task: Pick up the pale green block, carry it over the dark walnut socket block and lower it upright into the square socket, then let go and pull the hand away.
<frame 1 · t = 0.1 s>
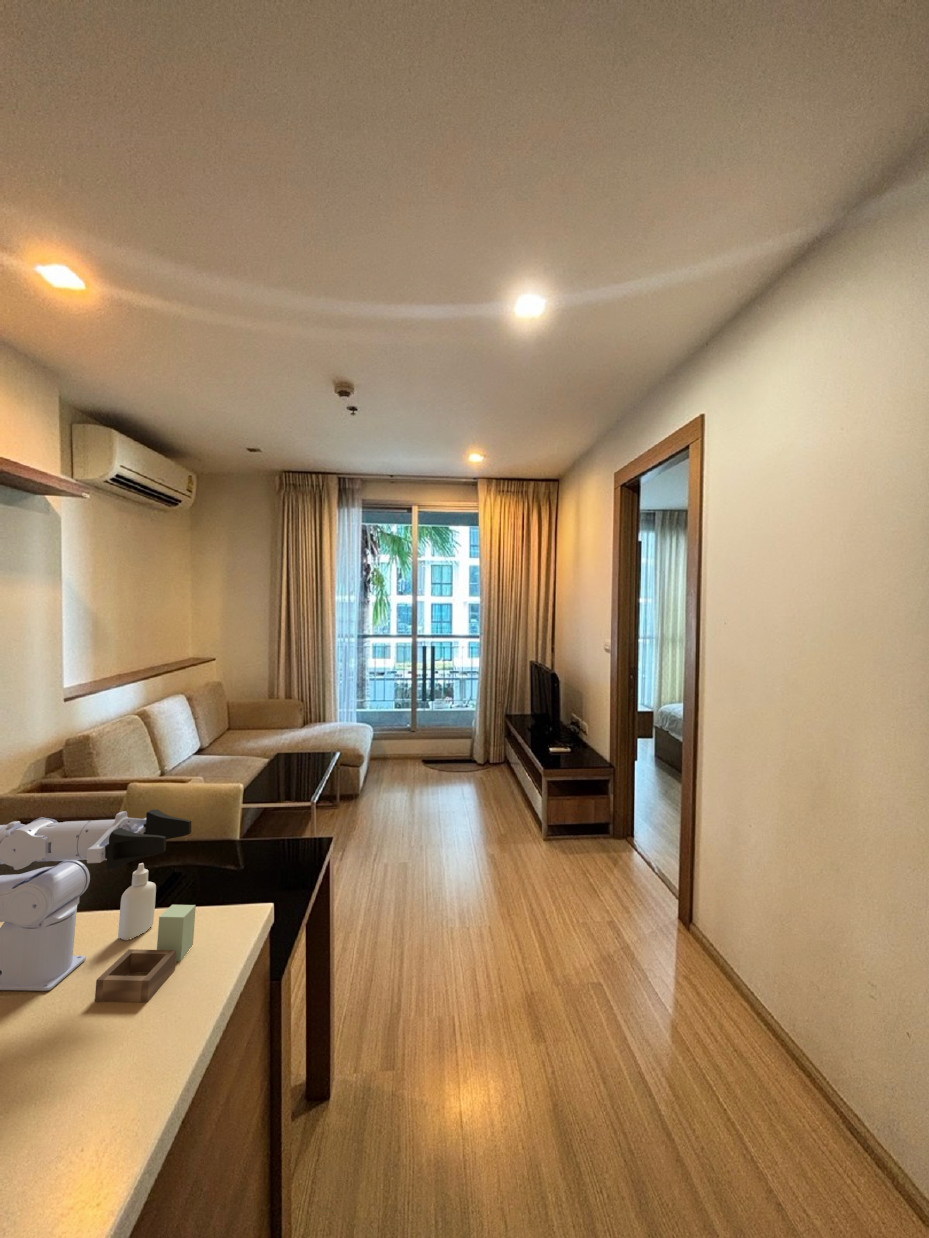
hand: (178, 835, 81), 22 cm above the table, tool horizontal, fingers open, 7 cm apart
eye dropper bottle: (135, 933, 91), on the table
socket block: (136, 984, 77), on the table
pale green block: (174, 953, 85), on the table
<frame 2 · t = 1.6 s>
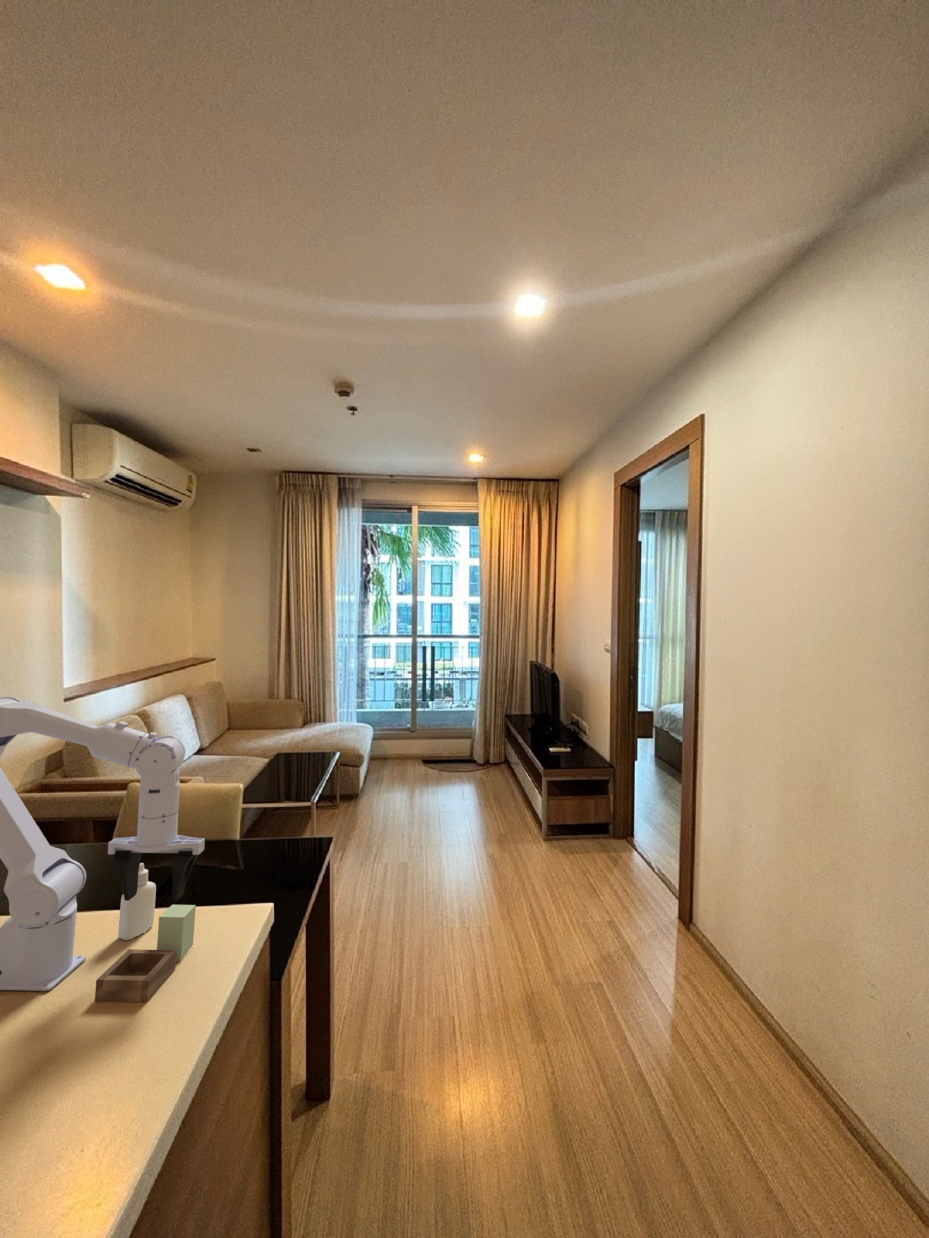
hand: (154, 897, 83), 10 cm above the table, tool pointing down, fingers open, 7 cm apart
nothing on the table moved.
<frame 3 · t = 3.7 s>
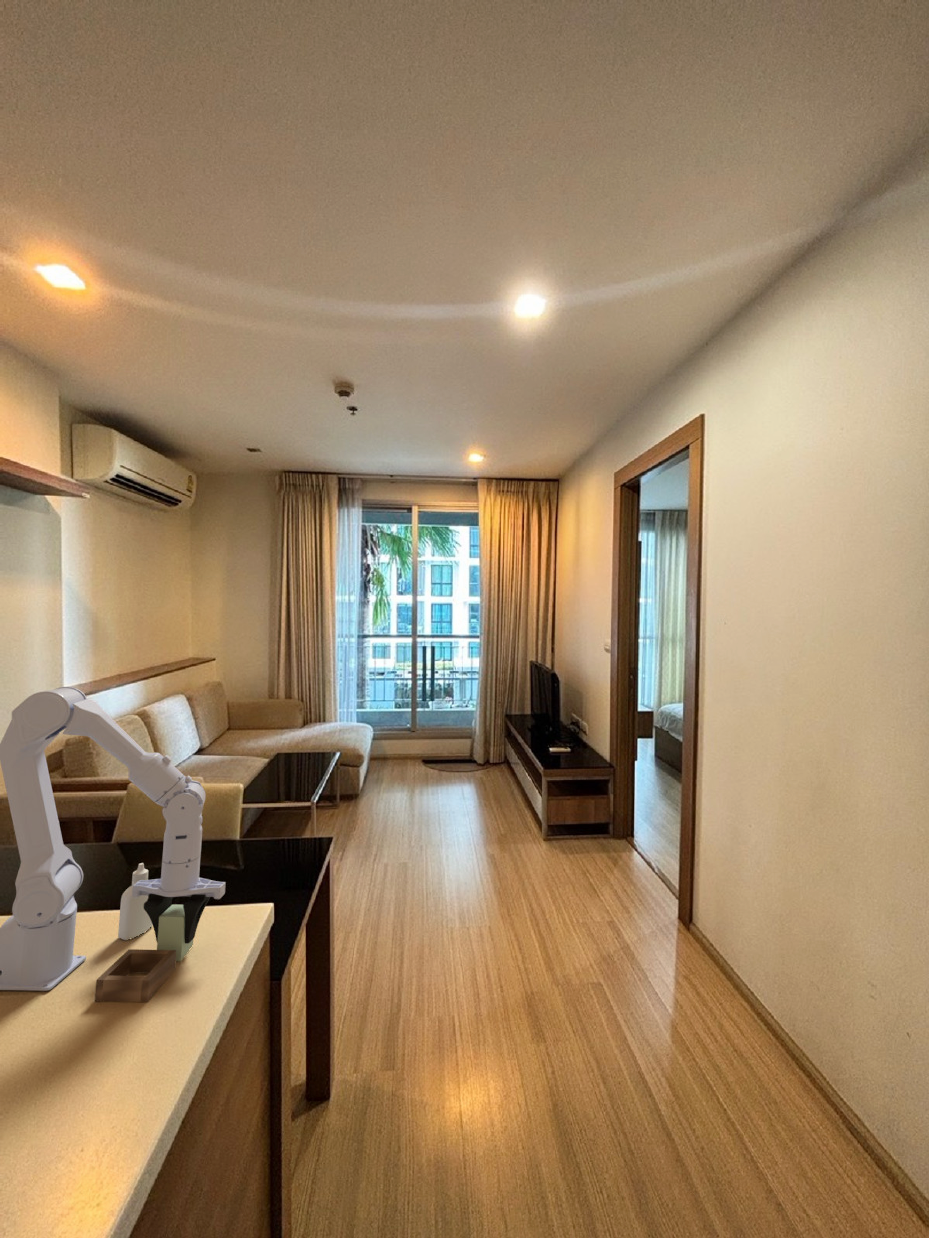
hand: (175, 939, 85), 2 cm above the table, tool pointing down, fingers closed on pale green block, 4 cm apart
pale green block: (174, 953, 85), on the table, touching gripper
everything else where it was.
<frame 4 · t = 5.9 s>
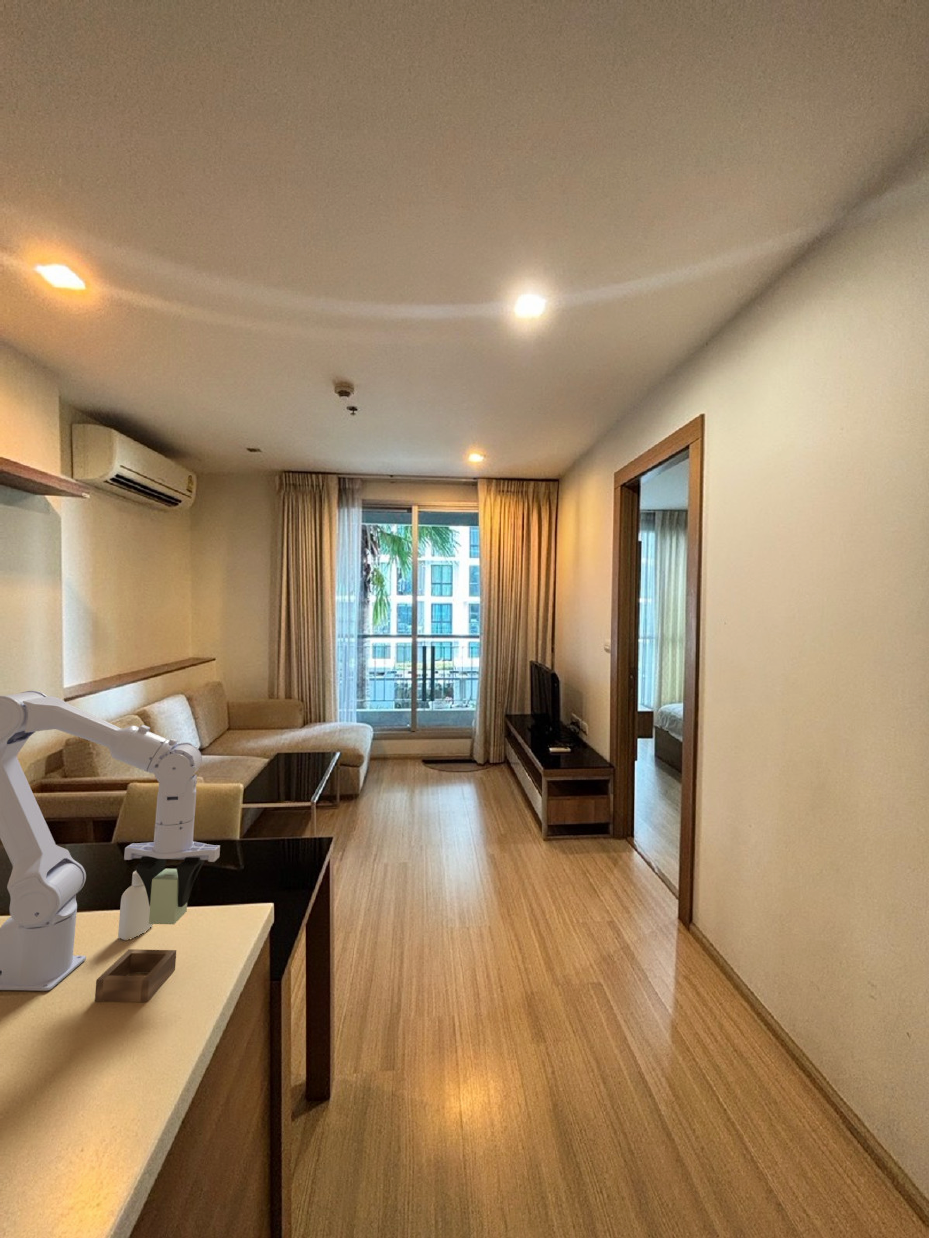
hand: (169, 903, 84), 9 cm above the table, tool pointing down, fingers closed on pale green block, 4 cm apart
pale green block: (168, 917, 84), point 7 cm above the table, touching gripper
everything else where it was.
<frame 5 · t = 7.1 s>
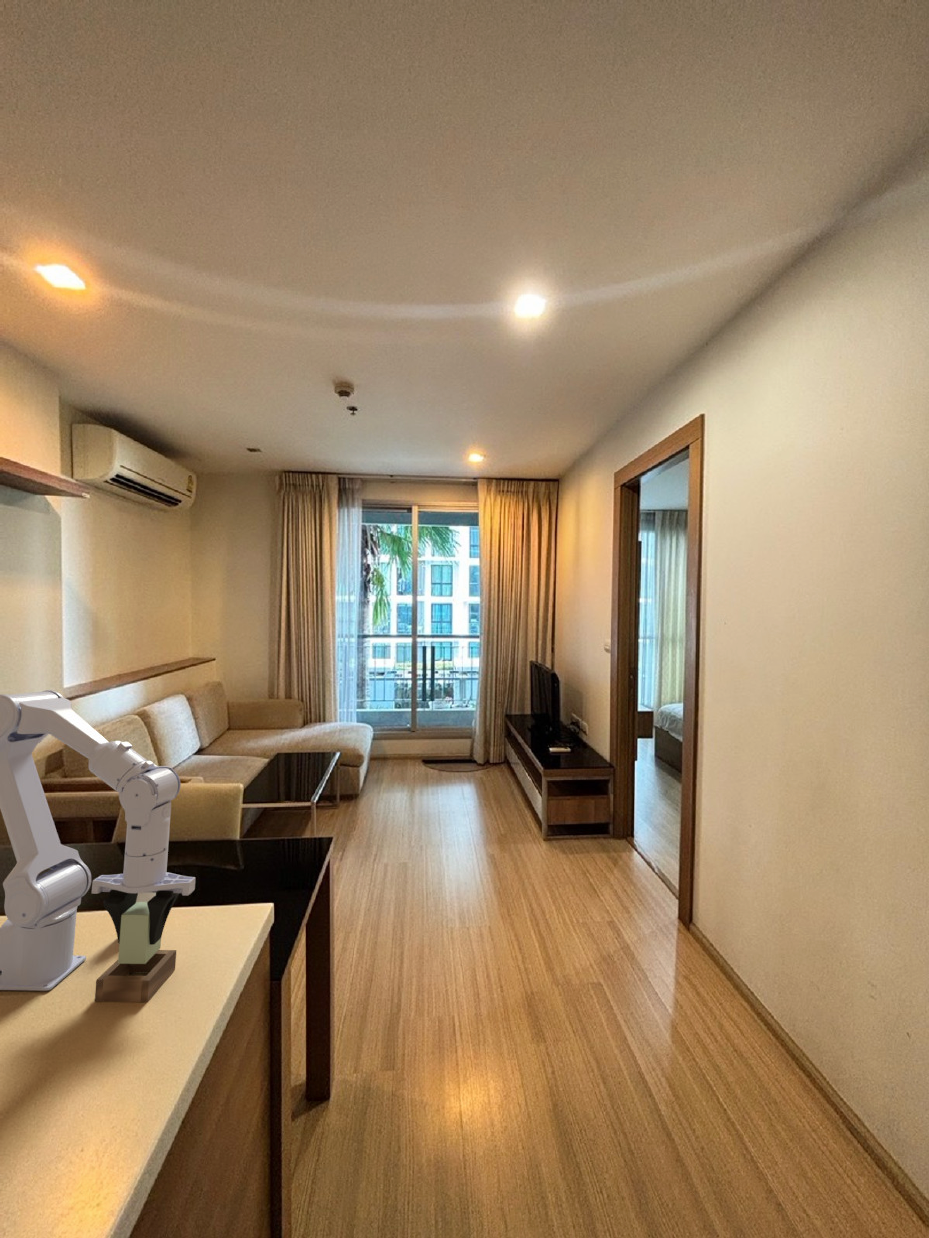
hand: (140, 940, 78), 6 cm above the table, tool pointing down, fingers closed on pale green block, 4 cm apart
pale green block: (139, 955, 78), point 4 cm above the table, touching gripper
everything else where it was.
when the fingers open (4 cm above the table, at t = 8.0 s): pale green block drops 2 cm, resting in socket block.
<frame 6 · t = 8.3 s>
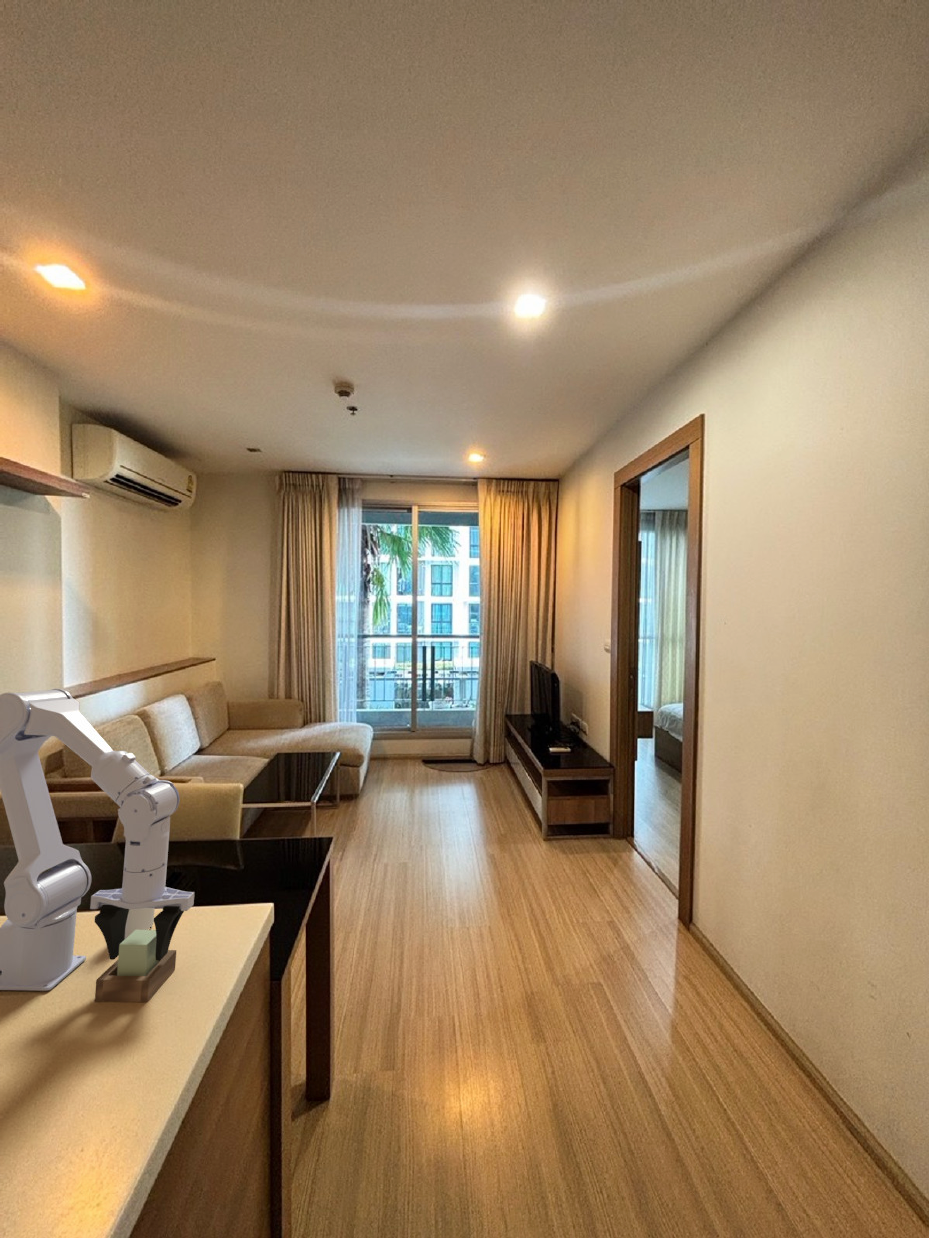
hand: (139, 955, 78), 4 cm above the table, tool pointing down, fingers open, 6 cm apart
pale green block: (137, 984, 77), resting in socket block
everything else where it was.
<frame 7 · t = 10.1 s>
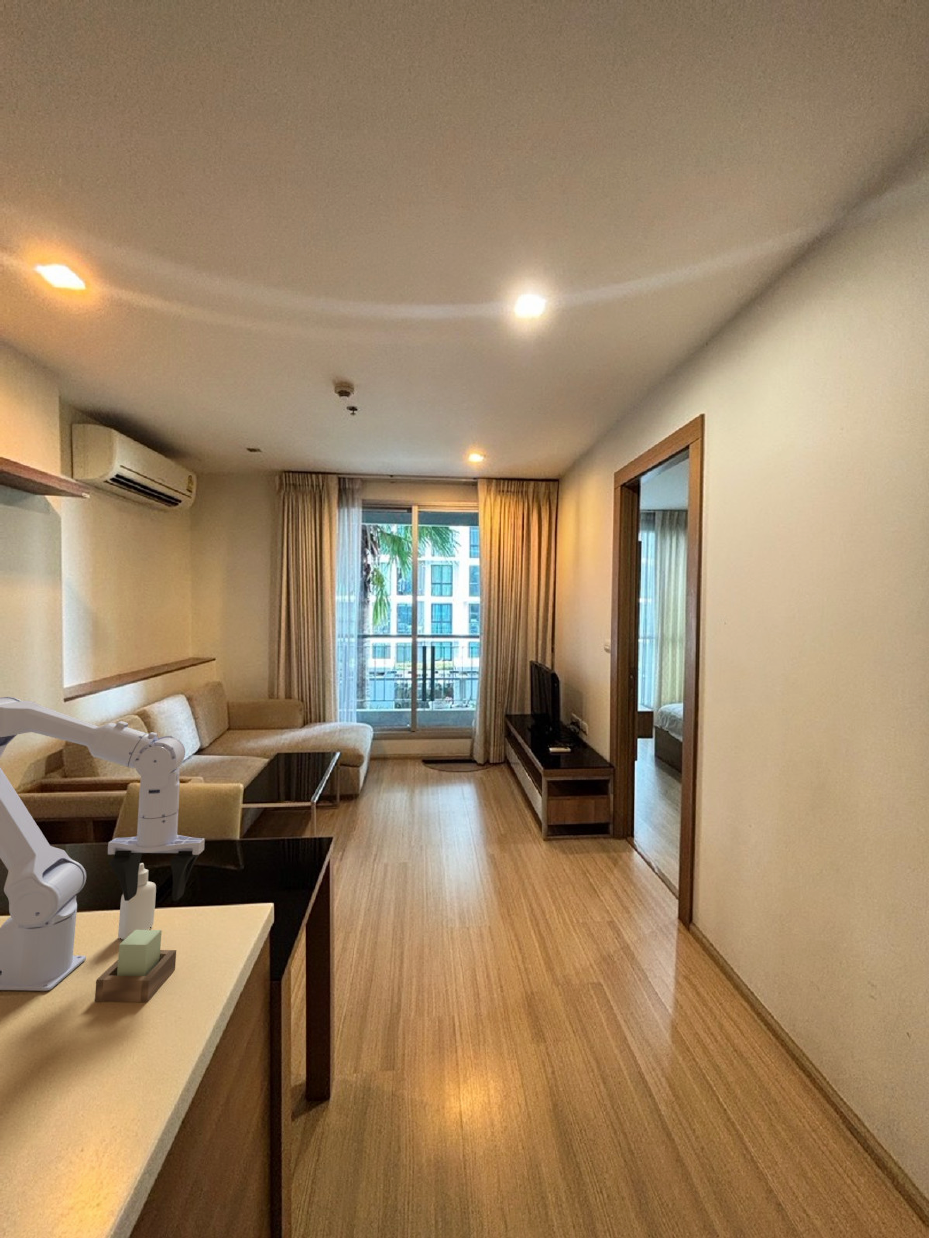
hand: (154, 897, 83), 10 cm above the table, tool pointing down, fingers open, 7 cm apart
nothing on the table moved.
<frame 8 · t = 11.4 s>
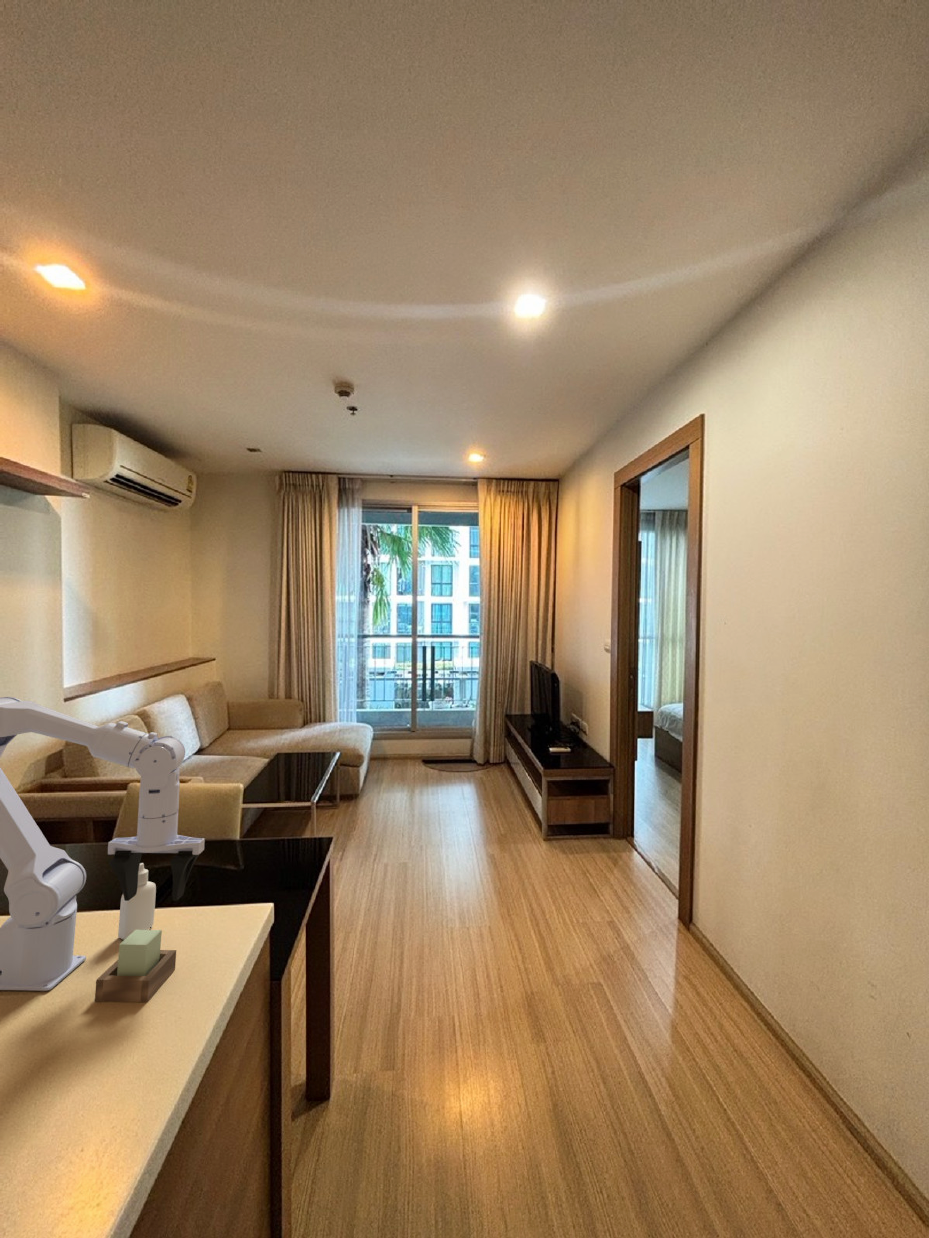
hand: (154, 897, 83), 10 cm above the table, tool pointing down, fingers open, 7 cm apart
nothing on the table moved.
at the end: pale green block 0.1 cm off-centre on the socket block, point 0.0 cm above the socket block's base; pale green block tilted 0°; the gripper is holding nothing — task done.
